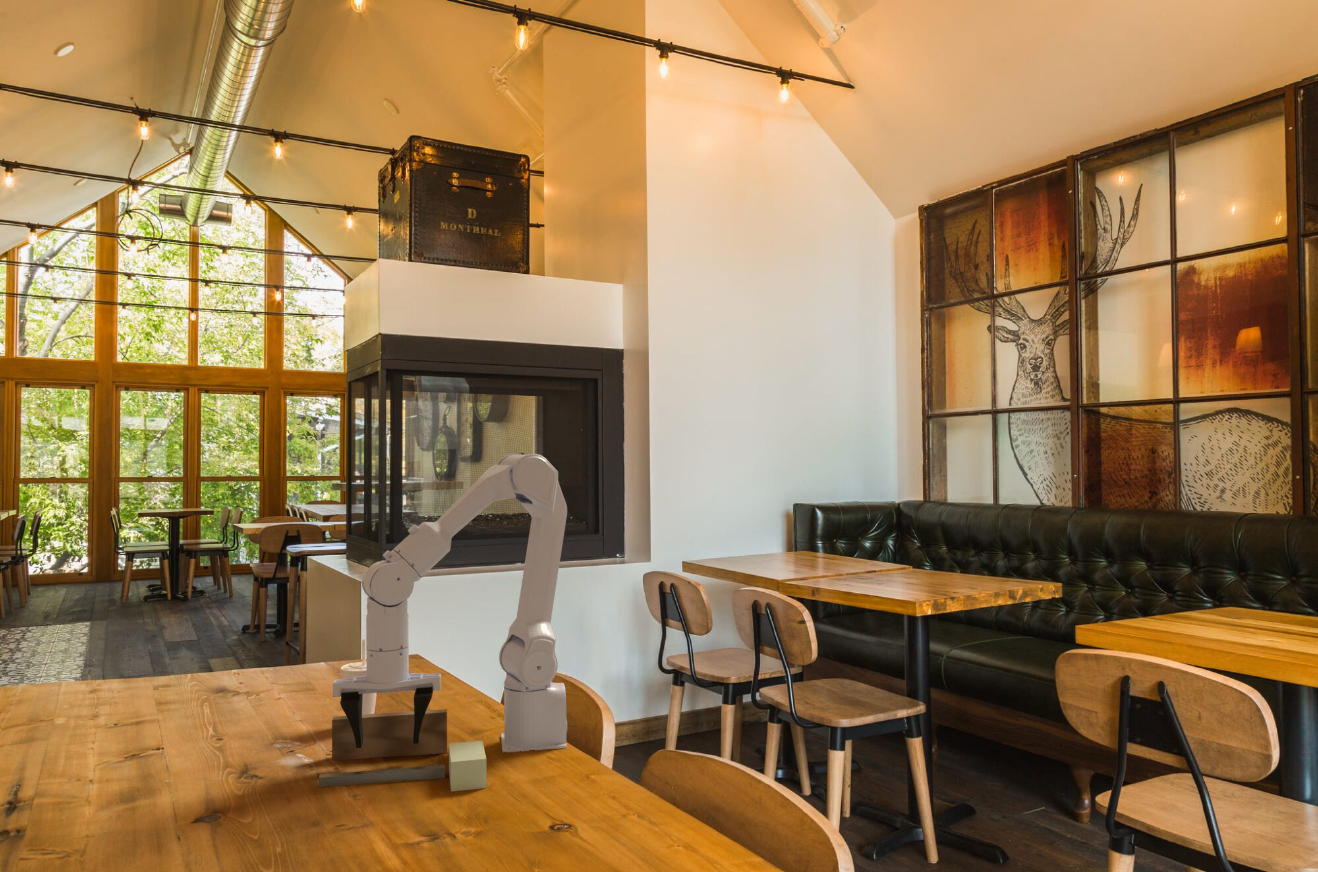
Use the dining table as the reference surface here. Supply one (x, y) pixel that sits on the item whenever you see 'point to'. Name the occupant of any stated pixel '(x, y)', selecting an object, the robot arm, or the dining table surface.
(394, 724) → the wall board
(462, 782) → the cabinet block
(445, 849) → the dining table surface
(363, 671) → the smoothie
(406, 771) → the strip
